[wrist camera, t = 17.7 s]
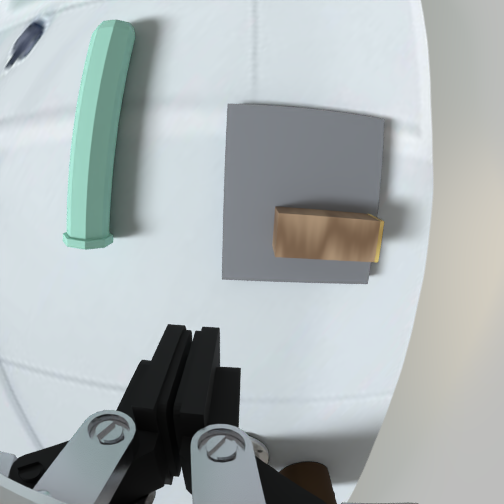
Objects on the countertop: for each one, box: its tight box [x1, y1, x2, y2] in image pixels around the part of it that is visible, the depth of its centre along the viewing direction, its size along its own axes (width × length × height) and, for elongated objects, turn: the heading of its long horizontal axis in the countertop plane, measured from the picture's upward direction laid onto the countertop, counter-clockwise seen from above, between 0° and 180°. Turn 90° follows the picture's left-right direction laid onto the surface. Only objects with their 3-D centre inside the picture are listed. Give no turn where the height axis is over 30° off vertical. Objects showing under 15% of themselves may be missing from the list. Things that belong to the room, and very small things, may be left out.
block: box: [272, 207, 384, 262], centre depth 31 cm, size 4×4×10 cm
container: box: [63, 20, 135, 249], centre depth 29 cm, size 6×6×25 cm
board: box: [222, 104, 384, 284], centre depth 33 cm, size 18×16×2 cm
